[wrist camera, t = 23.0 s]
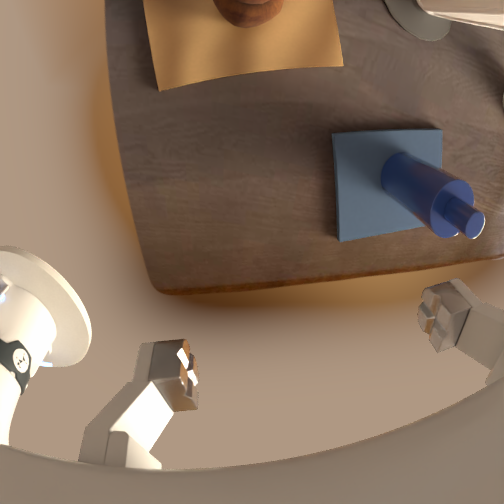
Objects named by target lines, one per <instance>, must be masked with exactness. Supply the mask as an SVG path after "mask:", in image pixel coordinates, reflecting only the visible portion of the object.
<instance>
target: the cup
mask: <svg viewBox="0 0 504 504" xmlns="http://www.w3.org/2000/svg"><path fill="white" fill-rule="evenodd" d="M384 1H385V3H386V5H387V7H388V9H389V11H390V13H391V15H392V16H393V17H394V19H395V20H396V21H397V22H398V23H399V24H400V25H401V26H402V27H403V29H405V30H406V31H408V32H409V33H411V34H412V35H414V36H415V37H417V38H420V39H424V40H428V41H434V40H439V39H442V38H443V37H444V36H445V35H446V34H447V33H448V32H449V29H450V25H451V21H452V20H453V21H459V22H464V23H469V24H474V25H478V26H484V27H489V28H494V29H499V30H504V0H384Z"/></svg>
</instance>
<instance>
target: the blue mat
mask: <svg viewBox="0 0 504 504" xmlns="http://www.w3.org/2000/svg"><path fill="white" fill-rule="evenodd" d="M332 144H333V157H334V171H335V189H336V213H337V239H338V241H339V242H343V241H348V240H353V239H359V238H364V237H369V236H375V235H380V234H385V233H391V232H396V231H401V230H406V229H412V228H417V227H422V226H425V225H424V224H423V223H422V222H421V221H419V220H418V219H417V218H416V217H414V216H413V215H412V214H411V213H409V212H408V211H407V210H406V209H404V208H403V207H402V206H401V205H399V204H398V203H397V202H395V201H394V200H393V199H391V198H390V197H389V196H388V195H387V194H386V193H385V192H384V190H383V188H382V185H381V171H382V168H383V166H384V164H385V162H386V161H387V160H388V159H389V158H390V157H391V156H392V155H394V154H396V153H400V152H406V153H409V154H412V155H414V156H416V157H418V158H420V159H423V160H425V161H427V162H429V163H431V164H433V165H435V166H437V167H439V168H441V164H442V130H441V129H387V130H368V131H353V132H341V133H332Z"/></svg>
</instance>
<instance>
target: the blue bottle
mask: <svg viewBox="0 0 504 504" xmlns="http://www.w3.org/2000/svg"><path fill="white" fill-rule="evenodd" d="M381 185H382V188H383V190H384V192H385V193H386V194H387V195H388V196H389V197H390V198H391V199H393V200H394V201H395V202H397V203H398V204H399V205H401V206H402V207H403V208H404V209H406V210H407V211H408V212H409V213H411V214H412V215H413V216H414V217H416V218H417V219H418V220H419V221H421V222H422V223H423V224H424V225H425V226H427V227H428V228H429V229H430V230H431V231H432V232H434V233H435V234H436V235H437V236H439V237H442V238H449V237H453V236H455V235H456V234H458V233H459V232H461V233H462V234H464V235H465V236H466V237H467V238H469V239H473V238H476V237H477V236H478V235H479V234H480V233H481V231H482V229H483V227H484V223H485V217H484V215H483V213H482V212H480V211H479V210H478V209H476V208H475V207H474V195H473V191H472V189H471V187H470V185H469V184H468V183H467V182H465V181H464V180H462V179H460V178H458V177H456V176H455V175H453V174H451V173H449V172H447V171H445V170H443V169H441V168H439V167H437V166H435V165H433V164H431V163H429V162H427V161H425V160H423V159H420V158H418V157H416V156H414V155H412V154H409V153H406V152H400V153H396V154H394V155H392V156H391V157H390V158H389V159H388V160H387V161H386V162H385V164H384V166H383V168H382V171H381Z"/></svg>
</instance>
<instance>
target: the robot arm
mask: <svg viewBox="0 0 504 504" xmlns="http://www.w3.org/2000/svg"><path fill="white" fill-rule="evenodd" d="M421 298H422V300H423V302H422V304H421V305H420V306H419V309H418V314H417V315H418V322H419V325H420V327H421V329H422V330H423V331H424V332H425V333H428V334H430V336H429V341H430V342H431V344H432V345H433V347H434V348H435V350H436V351H437V353H438V352H441V351H444V350H446V349H449V348H452V347H454V346H456V348H458V349H459V350H460V351H462V352H464V353H465V354H467V355H468V356H470V357H471V358H473V359H474V360H476V361H477V362H479V363H481V364H482V365H484V366H485V367H487V368H489V369H490V370H491V372H490V373H489V375H488V377H487V378H486V381H485V383H486V385H487V387H485V388H483V389H481V390H480V391H478V392H476V393H474V394H472V395H470V396H469V397H467V398H465V399H463V400H461V401H459V402H457V403H455V404H453V405H451V406H449V407H447V408H445V409H442V410H440V411H438V412H436V413H434V414H431V415H429V416H427V417H425V418H422V419H420V420H417V421H415V422H413V423H410V424H408V425H405V426H403V427H400V428H397V429H395V430H392V431H389V432H386V433H384V434H380V435H378V436H375V437H372V438H368V439H365V440H362V441H359V442H355V443H352V444H348V445H345V446H341V447H338V448H334V449H330V450H326V451H322V452H317V453H313V454H309V455H304V456H299V457H294V458H289V459H283V460H277V461H271V462H265V463H257V464H249V465H241V466H230V467H219V468H202V469H161V466H162V465H161V463H160V462H159V461H158V460H157V459H155V458H154V457H153V456H152V455H151V454H150V453H148V452H149V451H150V449H151V448H152V446H153V445H154V443H155V442H156V440H157V438H158V437H159V435H160V434H161V432H162V431H163V429H164V428H165V426H166V425H167V423H168V421H169V420H170V418H171V417H172V415H173V414H174V412H176V411H186V410H196V409H198V391H197V389H196V387H195V386H196V385H197V383H198V382H199V373H198V366H197V363H196V360H195V357H194V355H192V354H191V353H189V351H190V346H189V344H188V342H187V340H186V339H179V340H169V341H158V342H150V343H142V344H141V345H140V347H139V351H138V356H137V360H136V365H135V369H134V374H133V379H132V382H128V383H127V384H126V385H125V386H124V387H123V388H122V389H121V390H120V391H119V392H118V393H117V394H116V395H115V397H114V398H113V399H112V400H111V401H110V402H109V403H108V404H107V405H106V406H105V407H104V408H103V409H102V411H101V412H100V413H99V414H98V415H97V416H96V417H95V418H94V419H93V420H92V421H91V422H90V423H89V424H88V426H87V427H86V428H85V431H84V436H83V440H82V445H81V449H80V454H79V459H78V461H71V460H66V459H61V458H56V457H51V456H46V455H42V454H38V453H33V452H30V451H26V450H23V449H19V448H16V447H12V446H9V442H8V441H9V428H10V424H11V420H12V416H13V413H14V410H15V407H16V404H17V401H18V398H19V396H20V395H22V394H23V392H24V390H25V389H26V387H27V385H28V381H29V379H30V377H32V376H33V375H34V374H35V372H36V371H37V369H38V367H39V365H41V366H49V367H52V363H46V362H42V360H43V359H44V357H45V356H49V355H50V353H51V352H52V345H51V344H52V342H53V341H54V340H55V338H56V325H55V322H54V320H53V318H52V316H51V314H50V313H49V311H48V310H47V308H46V307H45V306H44V305H43V304H42V303H41V302H40V301H39V300H38V299H37V298H36V297H35V296H34V295H32V294H31V293H30V292H28V291H27V290H25V289H23V288H21V287H19V286H17V285H15V284H13V283H12V282H11V281H10V280H9V279H8V278H7V277H6V276H4V275H3V274H0V504H504V310H502V309H499V308H497V307H495V306H492V305H490V304H488V303H484V304H483V303H482V302H481V301H480V300H479V299H478V298H477V297H476V296H475V295H474V293H473V292H472V291H471V290H470V289H469V288H468V287H467V286H466V285H465V284H464V283H463V282H462V281H461V280H460V279H458V278H455V279H452V280H449V281H447V282H443V283H440V284H437V285H434V286H431V287H427V288H425V289H424V290H423V292H422V296H421Z"/></svg>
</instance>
